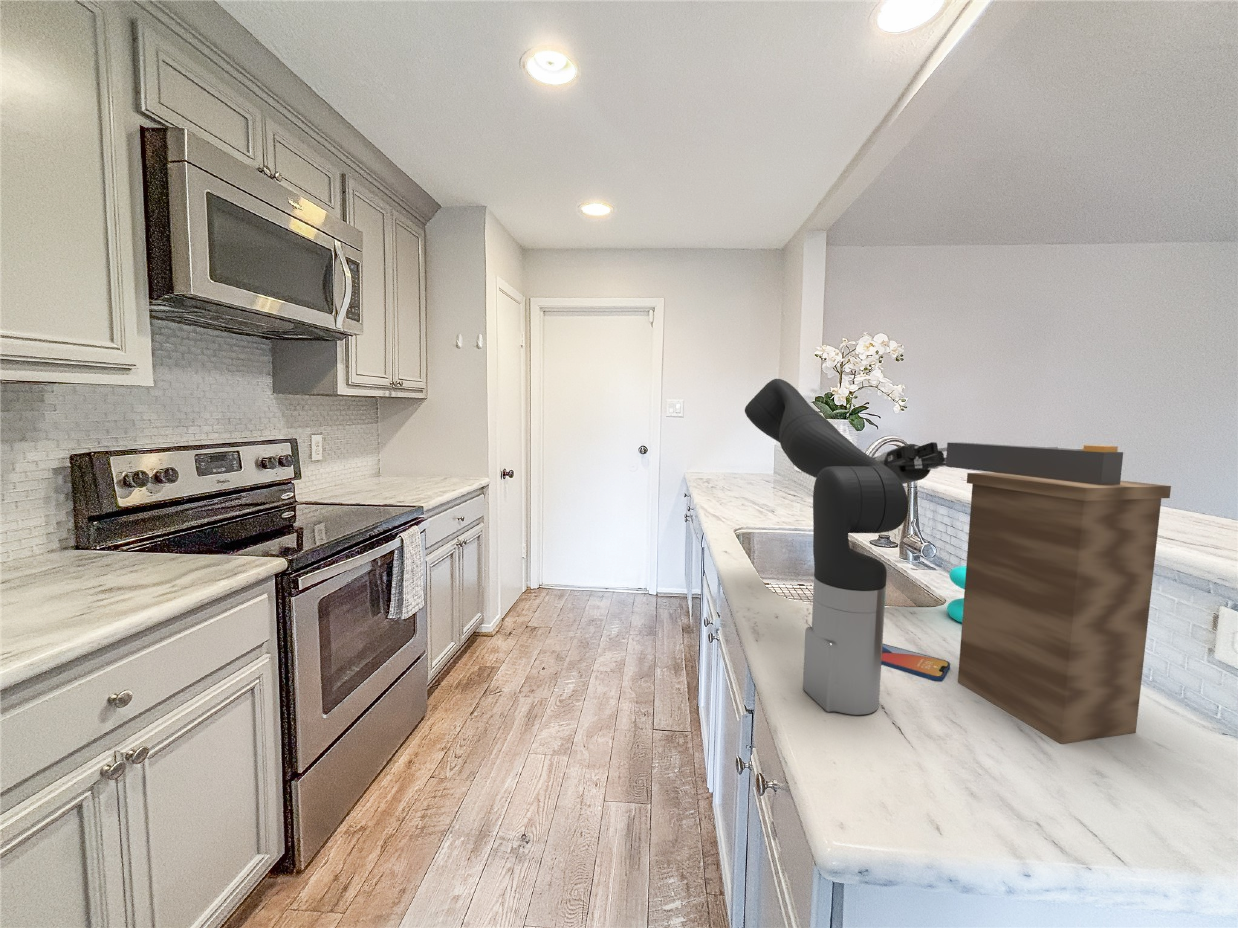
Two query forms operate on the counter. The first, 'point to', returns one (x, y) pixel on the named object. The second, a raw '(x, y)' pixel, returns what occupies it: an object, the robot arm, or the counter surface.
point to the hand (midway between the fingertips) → (958, 448)
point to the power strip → (1041, 461)
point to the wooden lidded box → (1059, 600)
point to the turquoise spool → (956, 605)
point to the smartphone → (914, 663)
